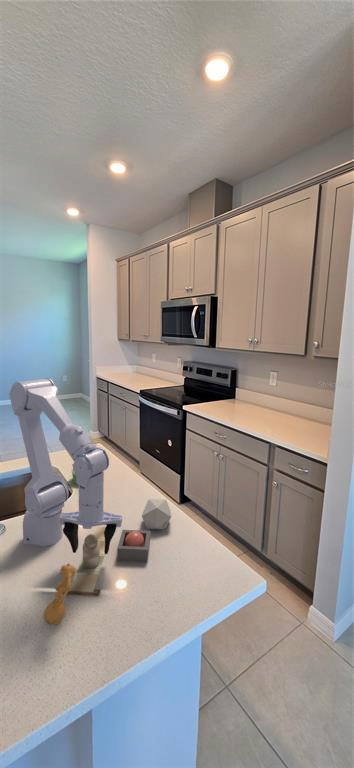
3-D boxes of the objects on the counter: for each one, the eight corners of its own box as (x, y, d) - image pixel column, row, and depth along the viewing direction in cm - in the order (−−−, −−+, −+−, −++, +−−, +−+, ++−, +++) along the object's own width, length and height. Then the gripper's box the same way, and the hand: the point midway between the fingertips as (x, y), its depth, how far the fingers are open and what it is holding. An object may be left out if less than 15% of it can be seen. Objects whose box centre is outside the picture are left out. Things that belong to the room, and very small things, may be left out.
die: (159, 542, 92) (179, 511, 94) (133, 524, 93) (153, 493, 94) (160, 534, 100) (178, 505, 102) (135, 517, 101) (154, 489, 103)
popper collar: (116, 563, 82) (116, 549, 81) (121, 542, 90) (121, 529, 89) (148, 565, 82) (148, 550, 81) (150, 544, 90) (151, 530, 89)
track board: (62, 594, 72) (62, 591, 72) (90, 528, 96) (90, 525, 96) (98, 595, 72) (98, 592, 72) (118, 529, 96) (118, 526, 96)
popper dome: (123, 556, 83) (123, 538, 83) (126, 543, 88) (126, 526, 87) (143, 557, 83) (143, 539, 83) (144, 544, 88) (145, 527, 87)
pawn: (80, 568, 79) (80, 540, 78) (85, 556, 83) (85, 529, 82) (97, 569, 79) (97, 541, 78) (101, 557, 83) (101, 530, 82)
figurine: (45, 606, 69) (43, 555, 67) (75, 599, 71) (74, 549, 69) (43, 642, 61) (41, 585, 59) (77, 633, 63) (76, 578, 61)
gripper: (54, 507, 74) (55, 560, 76) (118, 510, 74) (117, 563, 76) (64, 491, 81) (65, 541, 83) (123, 494, 81) (122, 543, 83)
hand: (91, 550), depth 80 cm, fingers open, 7 cm apart
